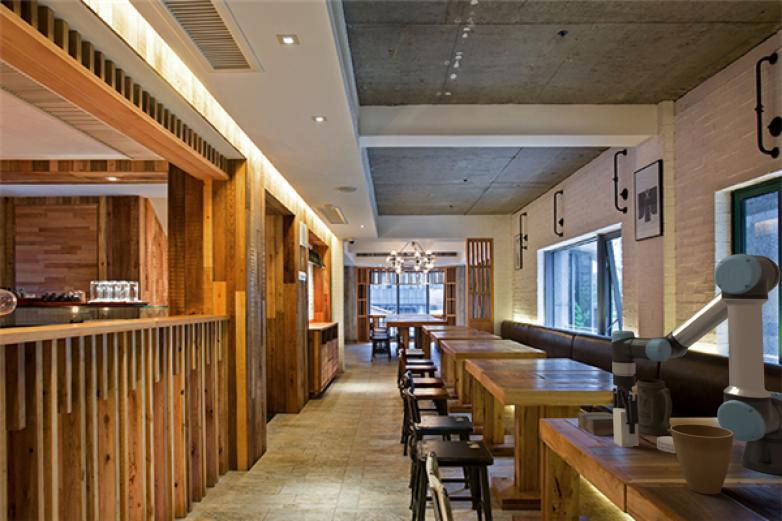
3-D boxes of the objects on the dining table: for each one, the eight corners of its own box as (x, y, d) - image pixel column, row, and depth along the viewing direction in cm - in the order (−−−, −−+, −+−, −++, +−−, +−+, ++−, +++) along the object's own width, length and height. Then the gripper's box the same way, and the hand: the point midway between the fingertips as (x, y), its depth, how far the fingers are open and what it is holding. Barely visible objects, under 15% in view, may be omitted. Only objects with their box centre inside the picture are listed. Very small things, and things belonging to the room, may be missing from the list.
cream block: (638, 446, 186) (637, 411, 187) (621, 446, 186) (620, 411, 187) (630, 441, 192) (629, 408, 193) (614, 442, 192) (613, 408, 193)
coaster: (656, 452, 181) (656, 441, 181) (657, 444, 189) (657, 434, 190) (690, 456, 176) (690, 445, 176) (689, 448, 185) (689, 438, 185)
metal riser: (623, 434, 203) (622, 418, 203) (593, 436, 201) (593, 419, 202) (606, 427, 215) (606, 411, 215) (578, 428, 213) (578, 412, 214)
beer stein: (629, 429, 209) (630, 378, 209) (648, 426, 214) (649, 376, 214) (663, 442, 195) (665, 387, 195) (683, 438, 200) (684, 385, 200)
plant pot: (712, 479, 153) (710, 422, 154) (749, 499, 138) (746, 436, 139) (661, 480, 152) (659, 423, 153) (692, 500, 138) (690, 437, 139)
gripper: (648, 378, 181) (651, 447, 180) (621, 370, 201) (623, 432, 199) (626, 378, 181) (629, 448, 179) (601, 370, 200) (603, 432, 199)
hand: (626, 439), depth 189 cm, fingers open, 7 cm apart
